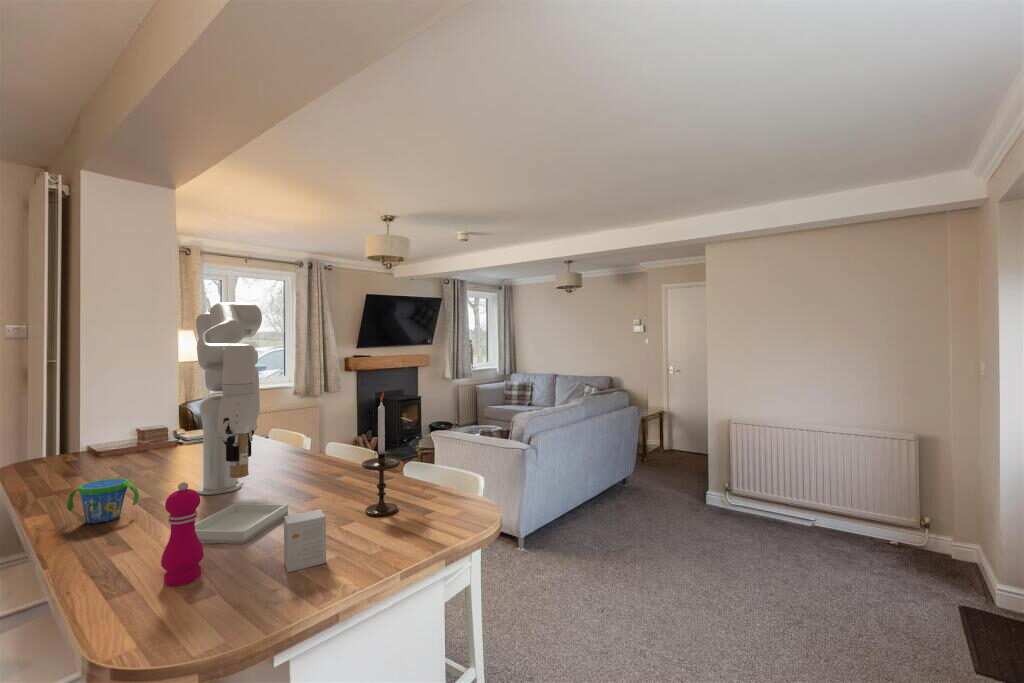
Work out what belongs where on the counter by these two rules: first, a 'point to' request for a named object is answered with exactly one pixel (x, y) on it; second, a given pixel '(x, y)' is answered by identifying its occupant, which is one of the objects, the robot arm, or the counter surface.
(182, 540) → the pepper mill
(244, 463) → the sprinkles bottle
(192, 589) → the counter surface
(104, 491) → the snack cup
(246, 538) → the tray
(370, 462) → the candlestick
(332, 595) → the counter surface
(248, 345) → the robot arm
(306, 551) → the small box
